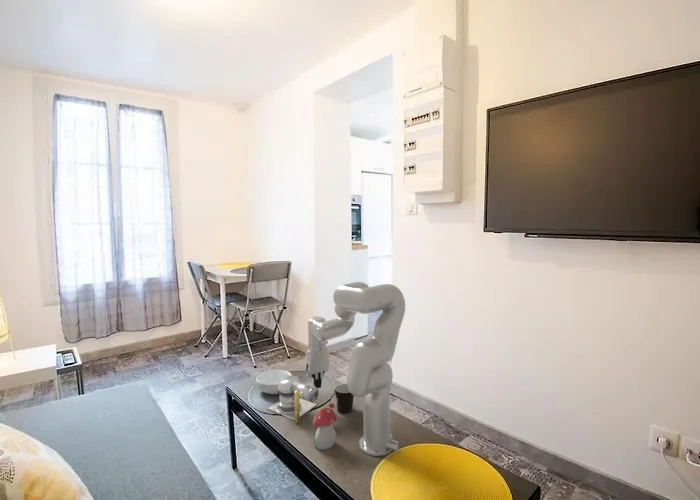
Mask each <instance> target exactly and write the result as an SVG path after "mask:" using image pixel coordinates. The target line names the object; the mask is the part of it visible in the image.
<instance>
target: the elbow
mask: <svg viewBox="0 0 700 500" xmlns="http://www.w3.org/2000/svg"><path fill="white" fill-rule="evenodd" d="M295 390H298V391H299V398H301V399H303V400H306V401H309V402H312V403H315V402H316V401H317V399H318V398H319V393H320V392H319V388H316V387H312V386H311V385H309V384H305V383H303V382H301V381H300V378H299V377H298V376H297V375H293V374H291V375H289V376H283V377H281V378H280V379H279V380H278V394H277V395H279V396H280V395H281V396H294V391H295Z"/></svg>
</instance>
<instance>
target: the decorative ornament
mask: <svg viewBox="0 0 700 500" xmlns="http://www.w3.org/2000/svg"><path fill="white" fill-rule="evenodd" d="M334 408H335V404H334V403H333V402H331V403H329V404H328V407H326V408H325V407H324V408H321V409H320V410H318V412H317V413H316V415H315V416H314V417H313V421H312V425H313V426H314V427H315V428H317V430H316V431H315V437H314V447H315V449H317V450H319V451H320V450H322V451H326V450H329V449H332V448H333V447H334V445H335V442H336V436H337V434H336V429H335V428H334V426H333V424H334V423H335V422H336V421H337V420H338V418H337V415H336V413H335V412H334Z"/></svg>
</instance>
